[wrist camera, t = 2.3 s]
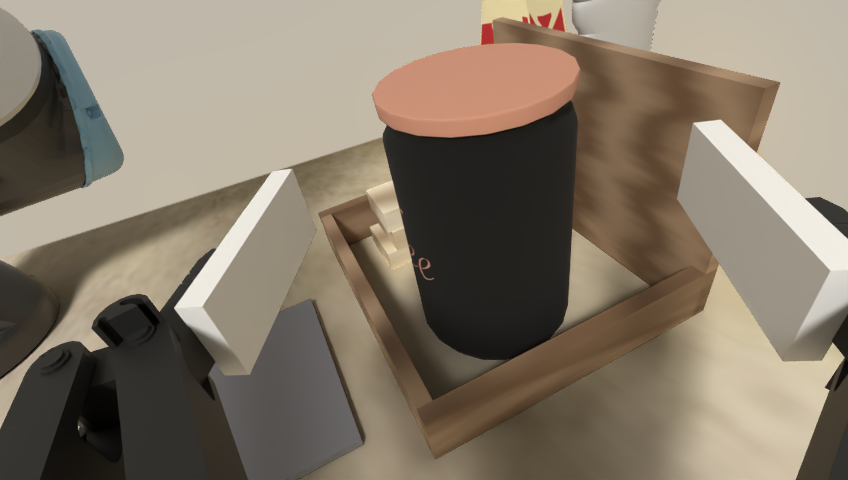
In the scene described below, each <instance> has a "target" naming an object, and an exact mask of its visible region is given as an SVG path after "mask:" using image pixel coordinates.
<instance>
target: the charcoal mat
mask: <svg viewBox="0 0 848 480" xmlns="http://www.w3.org/2000/svg"><path fill="white" fill-rule="evenodd" d="M209 376H210V377H211V378H212V380H213V381H214V383H215V385H216V388H217V391H218V394H219V397H220V400H221V403H222V406H223V409H224V411H225V414H226V417H227V420H228V423H229V426H230V429H231V432H232V435H233V437H234V440H235V443H236V446H237V449H238V452H239V455H240V458H241V461H242V463H243V466H244V469H245V472H246V475H247V478H248V480H297V479H299V478H301V477H303V476H304V475H306V474H308V473H310V472H312V471H314V470H316V469H318V468H320V467H322V466H323V465H325V464H327V463H329V462H331V461H333V460H335V459H337V458H339V457H341V456H343V455H344V454H346V453H348V452H350V451H352V450H354V449H356V448H358V447H360V446H362V445H363V441H362V438H361V436H360V433H359V430H358V427H357V424H356V422H355V419H354V416H353V413H352V411H351V408H350V405H349V402H348V399H347V397H346V394H345V391H344V388H343V386H342V383H341V380H340V377H339V374H338V372H337V369H336V366H335V363H334V361H333V358H332V355H331V352H330V350H329V347H328V344H327V341H326V338H325V336H324V333H323V330H322V327H321V325H320V322H319V319H318V316H317V313H316V311H315V308H314V305H313V303H312V300H311V299H309V300H306V301H304V302H302V303H299V304H297V305H295V306H292V307H290V308H288V309H285V310H283V311H281V312H279V313H278V315H277V317H276V319H275V321H274V323H273V326H272V328H271V330H270V332H269V334H268V336H267V338H266V341H265V343H264V345H263V347H262V349H261V351H260V354H259V356H258V358H257V360H256V362H255V364H254V366H253V369H252V371H251V373H250V375H227V376H225V375H224V374H223V373H222V371H221V370H220V369H219V367H218V366H217V365H216V363H214V365H213V367H212V369H211V371H210V373H209Z"/></svg>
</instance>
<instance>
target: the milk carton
mask: <svg viewBox="0 0 848 480" xmlns="http://www.w3.org/2000/svg"><path fill="white" fill-rule="evenodd" d="M501 17H504V18H508V19H512V20H517V21H521V22H525V23H529V24H534V25H538V26H542V27H546V28H551V29H555V30H559V31H564V32H567V29H566V23H565V16H564V10H563V5H562V0H482V17H481V18H482V19H481V39H480V45H486V44H494V37H493V21H492V20H494V19H497V18H501Z"/></svg>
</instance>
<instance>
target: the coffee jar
mask: <svg viewBox="0 0 848 480" xmlns="http://www.w3.org/2000/svg"><path fill="white" fill-rule="evenodd" d="M580 72H581V71H580V68H579V65H578V63H577V61H576V59H575V57H573V56H571V55H569V54H568V53H566V52H564V51H562V50H560V49H556V48H551V47H547V46H543V45H537V44H523V43H502V44H486V45H479V46H471V47H463V48H458V49H454V50H450V51H445V52H441V53H437V54H434V55H431V56H428V57H425V58H422V59H419V60H416V61H413V62H411V63H409V64H407V65H405V66H403V67H401V68H399V69H397V70H395V71H393V72H392V73H390V74H389V75H388V76H386V77H385V78H384V79H382V80H381V81H380V82H379V83H378V85H377V87H376V89H375V90H374V92H373V94H372V96H373V100H374V103H375V107H376V110H377V113H378V116H379V119H380V120H381V121H383V122H384V123H385V124H386V125H387V126H386V128H385V131H384V133H383V143H384V147H385V151H386V156H387V160H388V164H389V168H390V172H391V176H392V180H393V185H394V189H395V193H396V197H397V201H398V205H399V209H400V214H401V218H402V222H403V226H404V230H405V234H406V238H407V243H408V247H409V251H410V255H411V259H412V263H413V267H414V272H415V276H416V280H417V284H418V288H419V292H420V296H421V301H422V305H423V309H424V313H425V317H426V321H427V324H428V325H429V327H430V328H431V329H432V330H433V332H434V333H435V334H436V336H437V337H438V338H439V339H440V340H441V341H442V342H444V343H445V344H447V345H448V346H450V347H451V348H453V349H455V350H456V351H458V352H460V353H463V354H465V355H469V356H472V357H476V358H479V359H483V360H506V359H510V358H513V357H517V356H519V355H521V354H523V353H525V352H527V351H529V350H531V349H533V348H535V347H537V346H539V345H541V344H543V343H544V342H546V341H548V340H549V339H550V337H551V336H552V335H553V334H554V333H555V331H556V330H557V329H558V328H559V326H560V325H561V324H562V323H563V320H564V316H565V313H566V309H567V306H568V291H569V273H570V255H571V238H572V220H573V203H574V185H575V167H576V150H577V132H578V119H577V114H576V112H575V109H574V106H573V103H572V101H571V99H572V97H573V95H574V93H575V91H576V89H577V87H578V85H579V79H580Z"/></svg>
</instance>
